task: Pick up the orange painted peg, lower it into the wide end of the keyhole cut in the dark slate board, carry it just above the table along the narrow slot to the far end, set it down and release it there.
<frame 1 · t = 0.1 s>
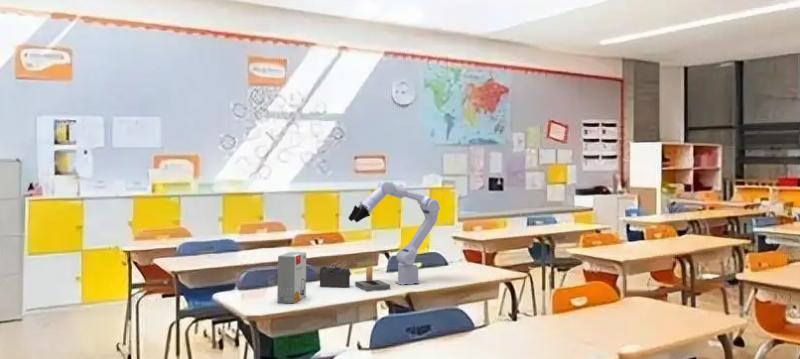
hand: (352, 220, 323), 32 cm above the table, tool tilted 50°, fingers open, 7 cm apart
keyhole plate: (372, 287, 324), on the table
camera: (335, 286, 329), on the table
peg: (369, 283, 336), on the table
hard drive box: (292, 300, 297), on the table
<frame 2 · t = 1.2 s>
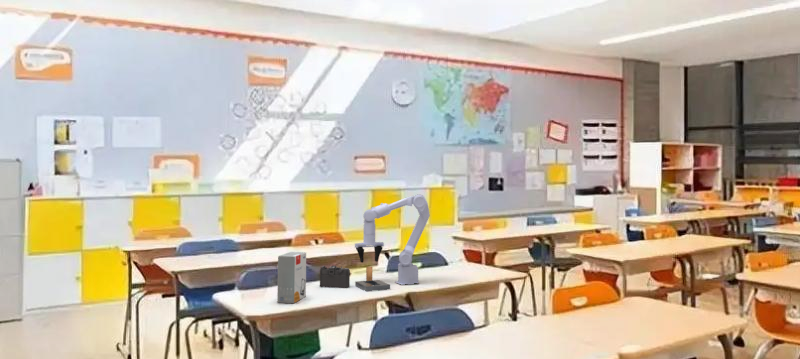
hand: (369, 261, 335), 10 cm above the table, tool pointing down, fingers open, 7 cm apart
nothing on the table moved.
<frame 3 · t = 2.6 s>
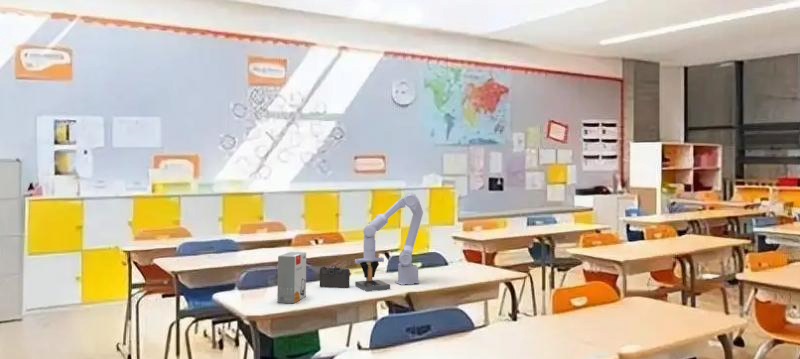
hand: (369, 277, 336), 3 cm above the table, tool pointing down, fingers closed on peg, 3 cm apart
peg: (369, 283, 336), on the table, touching gripper
everything else where it was.
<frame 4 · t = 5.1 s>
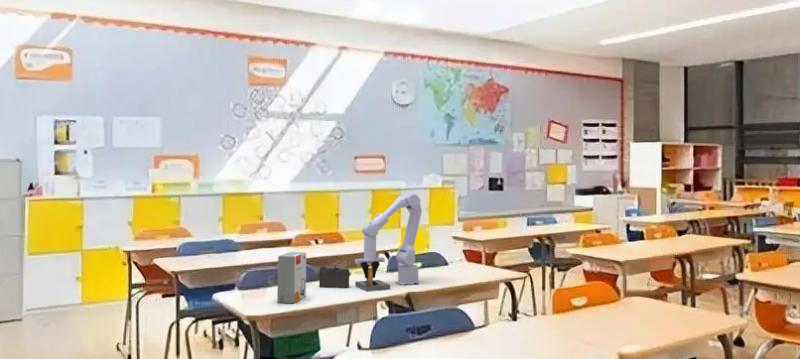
hand: (369, 277, 327), 4 cm above the table, tool pointing down, fingers closed on peg, 3 cm apart
peg: (369, 284, 327), point 1 cm above the table, touching gripper
everything else where it was.
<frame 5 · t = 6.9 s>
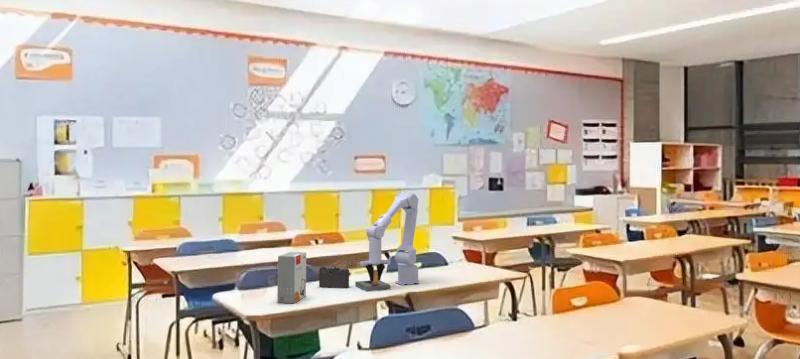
hand: (375, 280, 321), 4 cm above the table, tool pointing down, fingers closed on peg, 3 cm apart
peg: (374, 287, 322), point 1 cm above the table, touching gripper
when the fingers open (3 cm above the table, at t = 7.9 s): peg stays where it is, resting in keyhole plate.
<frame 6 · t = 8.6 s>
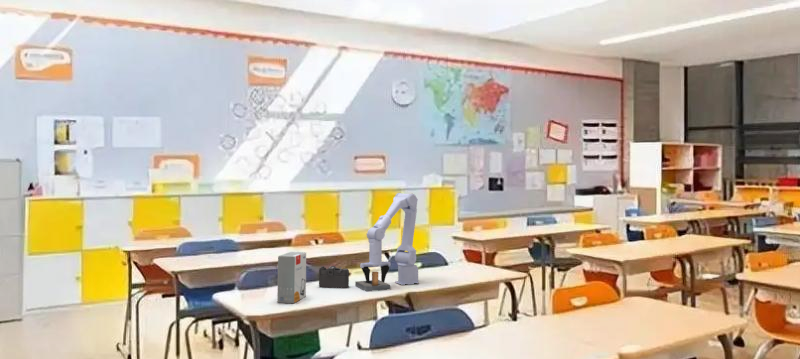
hand: (375, 282, 321), 3 cm above the table, tool pointing down, fingers open, 7 cm apart
peg: (375, 289, 321), resting in keyhole plate
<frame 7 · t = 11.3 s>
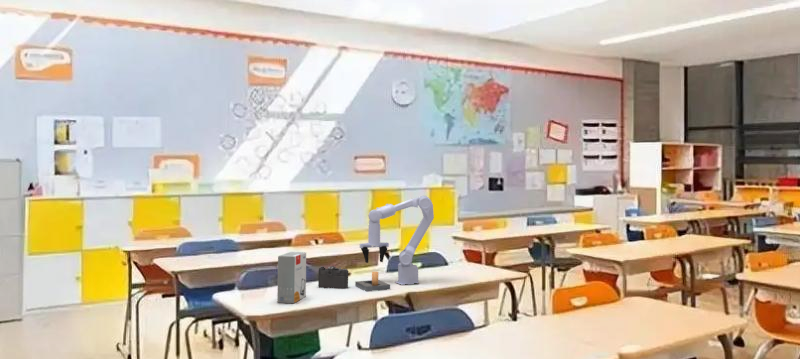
hand: (374, 262, 335), 10 cm above the table, tool pointing down, fingers open, 7 cm apart
at the end: peg 0.1 cm from the target spot on the keyhole plate, point 0.0 cm above the keyhole plate's base; peg tilted 0°; the gripper is holding nothing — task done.
